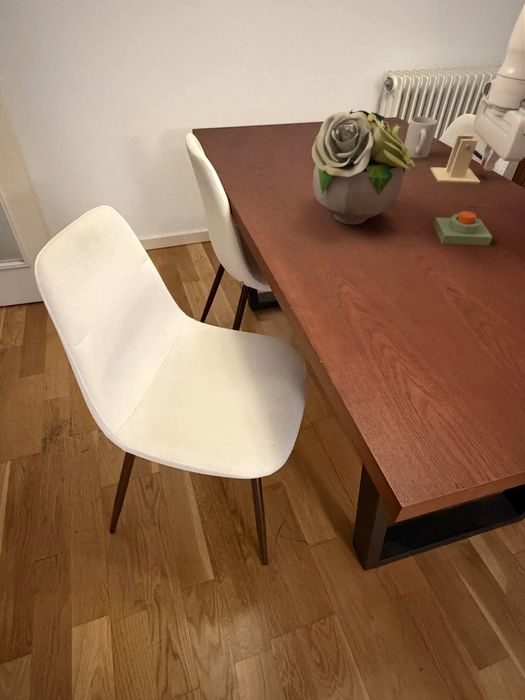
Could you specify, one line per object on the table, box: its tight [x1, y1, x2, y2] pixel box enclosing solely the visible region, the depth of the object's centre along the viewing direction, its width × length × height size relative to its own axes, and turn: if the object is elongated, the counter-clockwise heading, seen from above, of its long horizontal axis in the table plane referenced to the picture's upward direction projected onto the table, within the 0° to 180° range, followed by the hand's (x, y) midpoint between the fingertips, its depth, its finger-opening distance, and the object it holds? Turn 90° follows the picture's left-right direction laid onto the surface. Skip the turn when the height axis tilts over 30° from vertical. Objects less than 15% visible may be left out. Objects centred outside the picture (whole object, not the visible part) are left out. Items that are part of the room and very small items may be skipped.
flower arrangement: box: [311, 109, 416, 225], centre depth 95 cm, size 25×25×24 cm
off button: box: [458, 210, 477, 224], centre depth 95 cm, size 4×4×2 cm
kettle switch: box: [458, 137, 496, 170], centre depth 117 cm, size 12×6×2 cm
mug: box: [404, 116, 438, 159], centre depth 131 cm, size 12×8×11 cm
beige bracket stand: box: [430, 134, 481, 185], centre depth 118 cm, size 12×10×12 cm
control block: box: [432, 213, 493, 246], centre depth 97 cm, size 11×9×4 cm
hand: (485, 167), depth 87 cm, fingers closed
